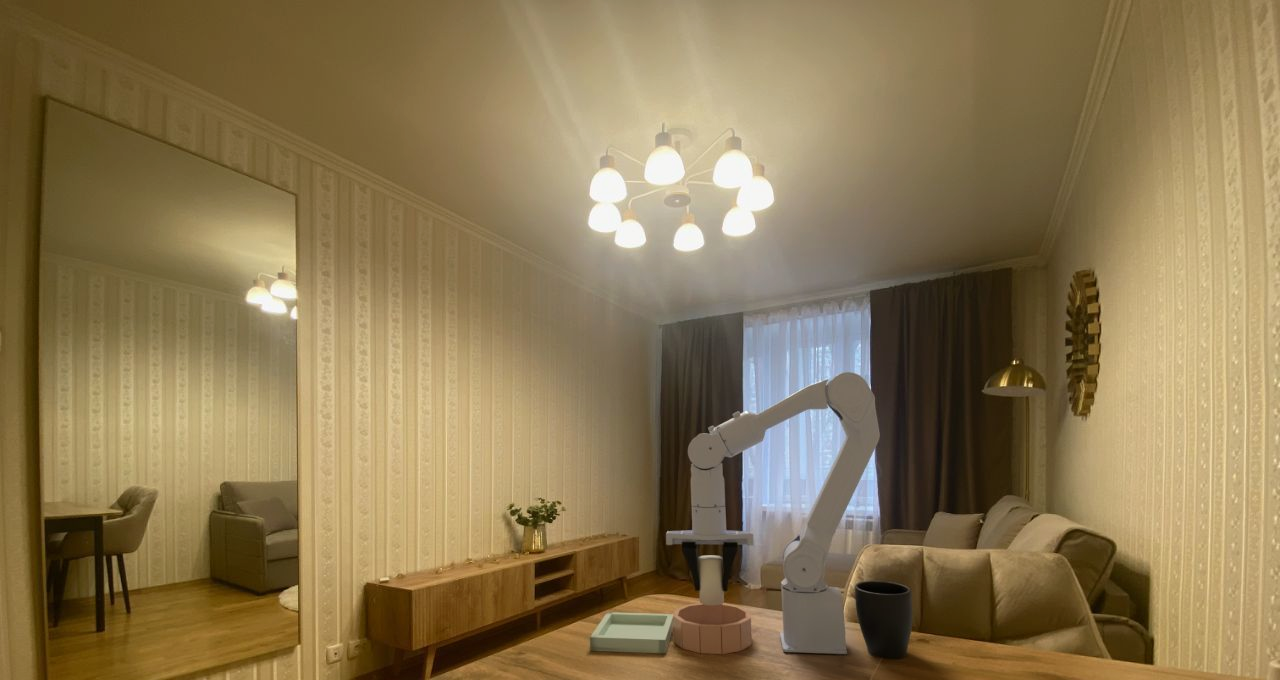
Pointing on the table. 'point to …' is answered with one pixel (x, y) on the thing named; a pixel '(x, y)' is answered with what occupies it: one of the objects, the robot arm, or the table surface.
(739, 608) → the segmented salmon ring
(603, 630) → the tray
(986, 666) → the table surface
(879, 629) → the mug
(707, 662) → the table surface
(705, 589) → the peg
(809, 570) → the robot arm
